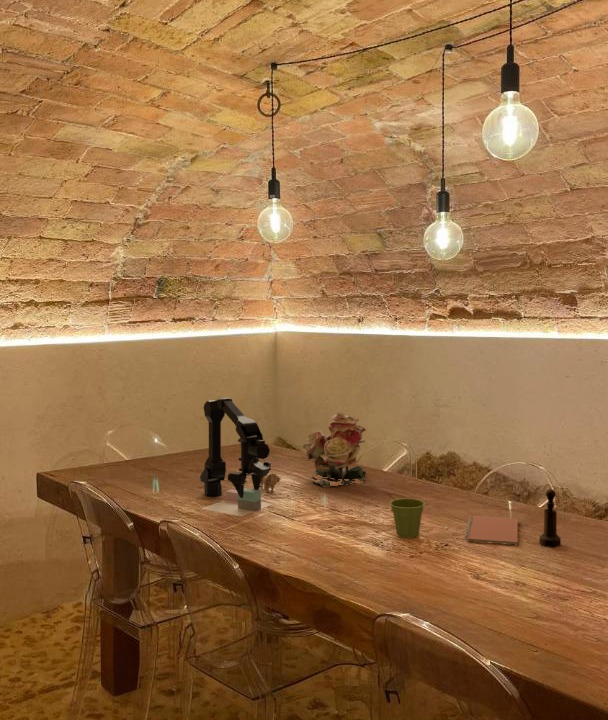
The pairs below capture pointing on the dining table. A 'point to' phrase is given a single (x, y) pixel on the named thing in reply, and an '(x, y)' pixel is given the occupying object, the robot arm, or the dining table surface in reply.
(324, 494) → the dining table surface
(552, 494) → the black pepper mill
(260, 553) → the dining table surface
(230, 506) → the baseplate
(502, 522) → the notebook
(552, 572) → the dining table surface
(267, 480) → the lion figurine
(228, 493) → the mauve brick
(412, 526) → the plant pot
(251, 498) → the teal brick
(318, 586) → the dining table surface
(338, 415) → the rose bouquet
